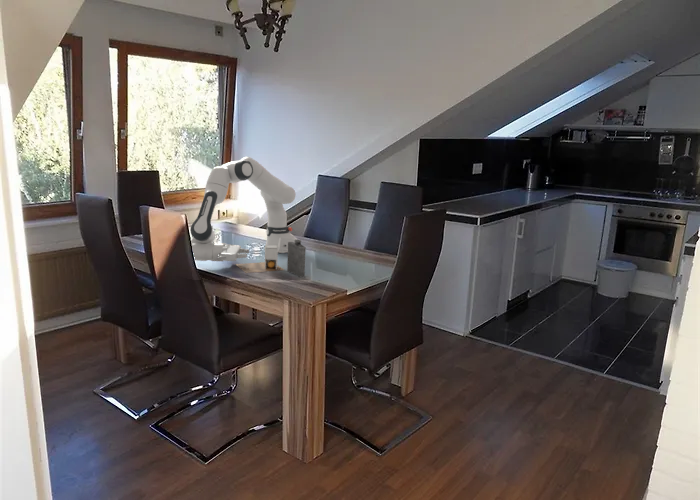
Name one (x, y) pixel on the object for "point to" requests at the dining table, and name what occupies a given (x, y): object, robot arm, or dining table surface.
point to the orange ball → (271, 264)
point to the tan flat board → (257, 267)
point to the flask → (296, 258)
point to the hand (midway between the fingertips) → (247, 253)
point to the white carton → (271, 254)
